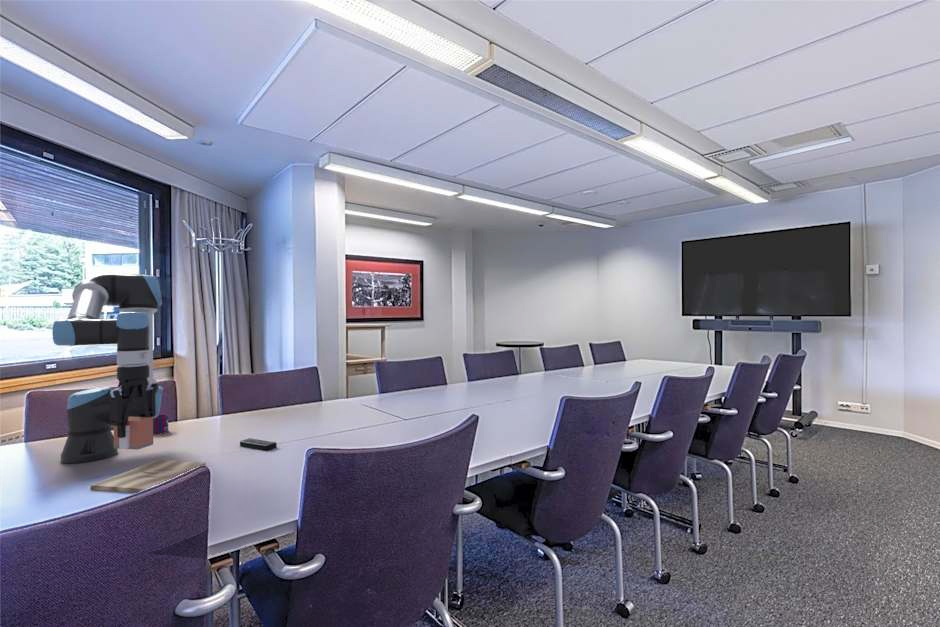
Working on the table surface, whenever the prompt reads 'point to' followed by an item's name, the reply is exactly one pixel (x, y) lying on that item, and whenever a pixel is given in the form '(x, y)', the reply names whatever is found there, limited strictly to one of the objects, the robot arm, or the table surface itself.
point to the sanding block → (138, 432)
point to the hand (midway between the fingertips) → (133, 445)
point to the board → (145, 476)
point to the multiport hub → (258, 444)
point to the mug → (160, 424)
